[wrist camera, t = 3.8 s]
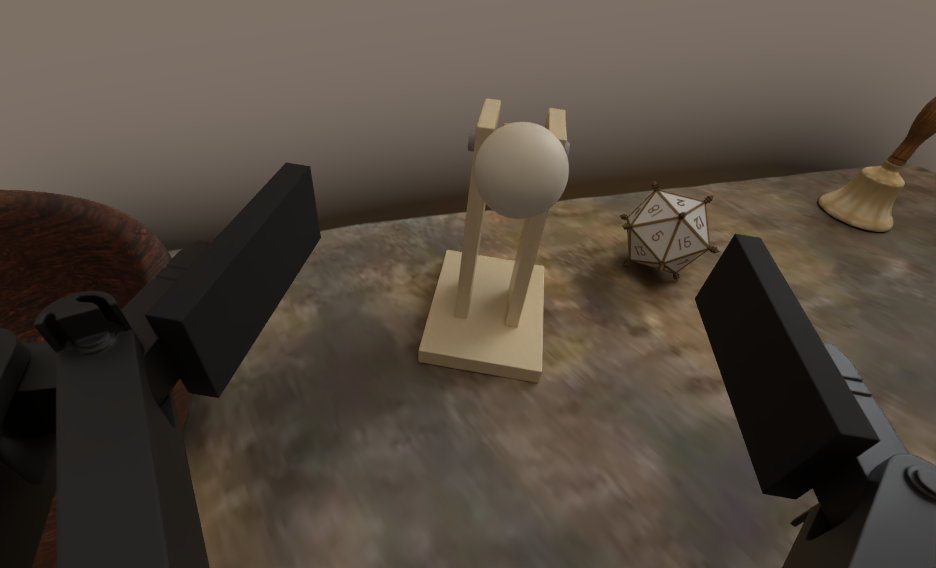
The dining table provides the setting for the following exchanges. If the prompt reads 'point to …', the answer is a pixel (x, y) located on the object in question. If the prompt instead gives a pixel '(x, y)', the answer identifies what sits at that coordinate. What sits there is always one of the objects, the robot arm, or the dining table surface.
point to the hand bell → (879, 182)
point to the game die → (668, 231)
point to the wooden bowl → (70, 275)
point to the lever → (521, 170)
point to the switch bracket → (490, 288)
